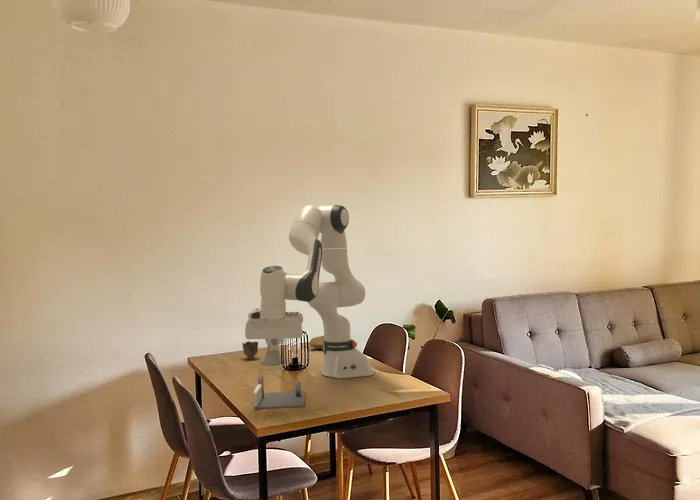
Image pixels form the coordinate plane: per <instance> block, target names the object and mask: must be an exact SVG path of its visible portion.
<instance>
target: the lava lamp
mask: <svg viewBox="0 0 700 500" xmlns="http://www.w3.org/2000/svg"><path fill="white" fill-rule="evenodd" d="M264 341H265V343H266V345H267V348H266V353H265V357H264V361H263V364H264V365H268V366H269V365H273V366H274V365H275V366H276V365H280V364H282V363H281V359H282V356H281V353H280V350H279V351H270V346H269V345H268V343H267V339H264ZM271 344H272V345H277V344H278V342H277V339H271Z"/></svg>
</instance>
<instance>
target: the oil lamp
mask: <svg viewBox="0 0 700 500" xmlns="http://www.w3.org/2000/svg"><path fill="white" fill-rule="evenodd" d="M323 343H324V335H320V336H315V337H312V338H311V339H310V340H309V342H308V345H309V346H310V347H312V348H314V349H319V350H321V349H323Z"/></svg>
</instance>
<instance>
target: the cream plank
mask: <svg viewBox="0 0 700 500" xmlns="http://www.w3.org/2000/svg"><path fill="white" fill-rule="evenodd" d="M261 399H262V384H258V383H257V386H256V387H255V389H254V390H253V392H252V400H253V401H252V402H253V404H252V405H253V407H255V408H256V407H257V406H258V404H259V402H260V400H261Z"/></svg>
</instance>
